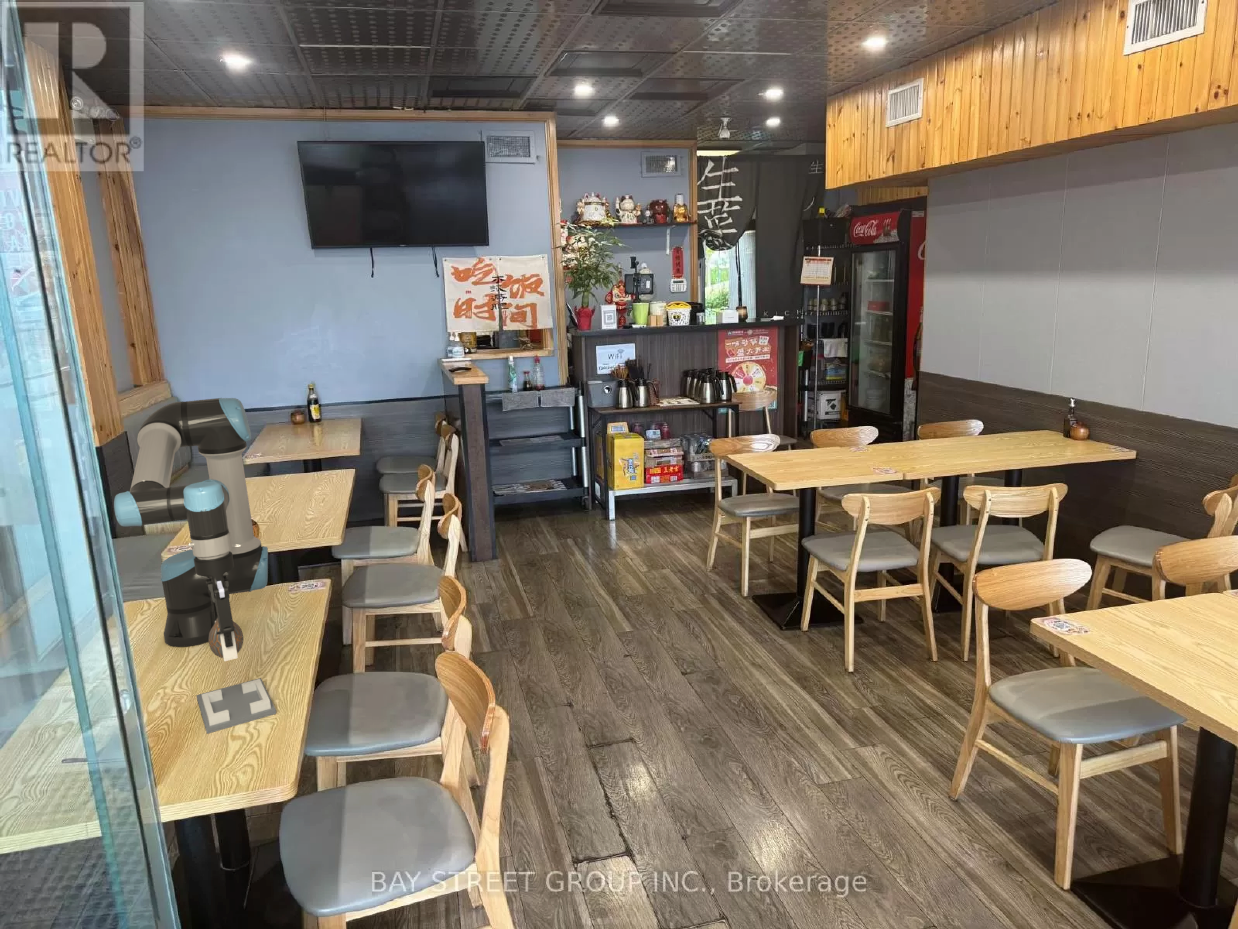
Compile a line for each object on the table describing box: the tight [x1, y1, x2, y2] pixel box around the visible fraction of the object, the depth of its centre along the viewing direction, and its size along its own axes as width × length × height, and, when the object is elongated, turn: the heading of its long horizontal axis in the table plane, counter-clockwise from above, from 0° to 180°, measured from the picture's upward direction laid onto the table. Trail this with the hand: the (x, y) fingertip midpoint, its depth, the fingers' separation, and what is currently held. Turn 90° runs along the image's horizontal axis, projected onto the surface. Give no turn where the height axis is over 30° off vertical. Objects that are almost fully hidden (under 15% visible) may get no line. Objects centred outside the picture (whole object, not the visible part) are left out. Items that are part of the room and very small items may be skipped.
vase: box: [208, 618, 244, 659], centre depth 183 cm, size 7×7×9 cm
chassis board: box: [196, 677, 277, 735], centre depth 188 cm, size 18×14×3 cm
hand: (228, 652), depth 184 cm, fingers closed on vase, 7 cm apart
